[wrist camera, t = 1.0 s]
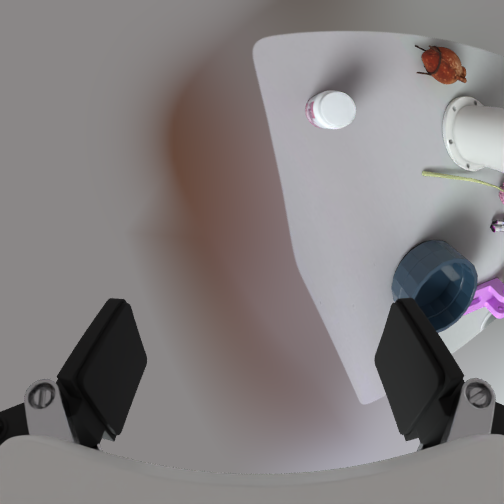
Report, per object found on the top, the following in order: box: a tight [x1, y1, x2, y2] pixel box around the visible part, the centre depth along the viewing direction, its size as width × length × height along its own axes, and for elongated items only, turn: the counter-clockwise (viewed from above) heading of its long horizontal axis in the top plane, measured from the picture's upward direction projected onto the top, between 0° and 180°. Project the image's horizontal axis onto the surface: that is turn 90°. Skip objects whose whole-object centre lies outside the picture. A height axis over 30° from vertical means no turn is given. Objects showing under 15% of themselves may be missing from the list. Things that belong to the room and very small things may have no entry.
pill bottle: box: [305, 90, 356, 129], centre depth 30 cm, size 5×5×8 cm
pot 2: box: [415, 45, 467, 84], centre depth 26 cm, size 6×8×6 cm
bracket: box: [463, 278, 504, 319], centre depth 43 cm, size 13×6×7 cm, turn 104°
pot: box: [392, 240, 478, 333], centre depth 40 cm, size 15×15×8 cm
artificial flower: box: [422, 171, 504, 204], centre depth 34 cm, size 7×7×25 cm
